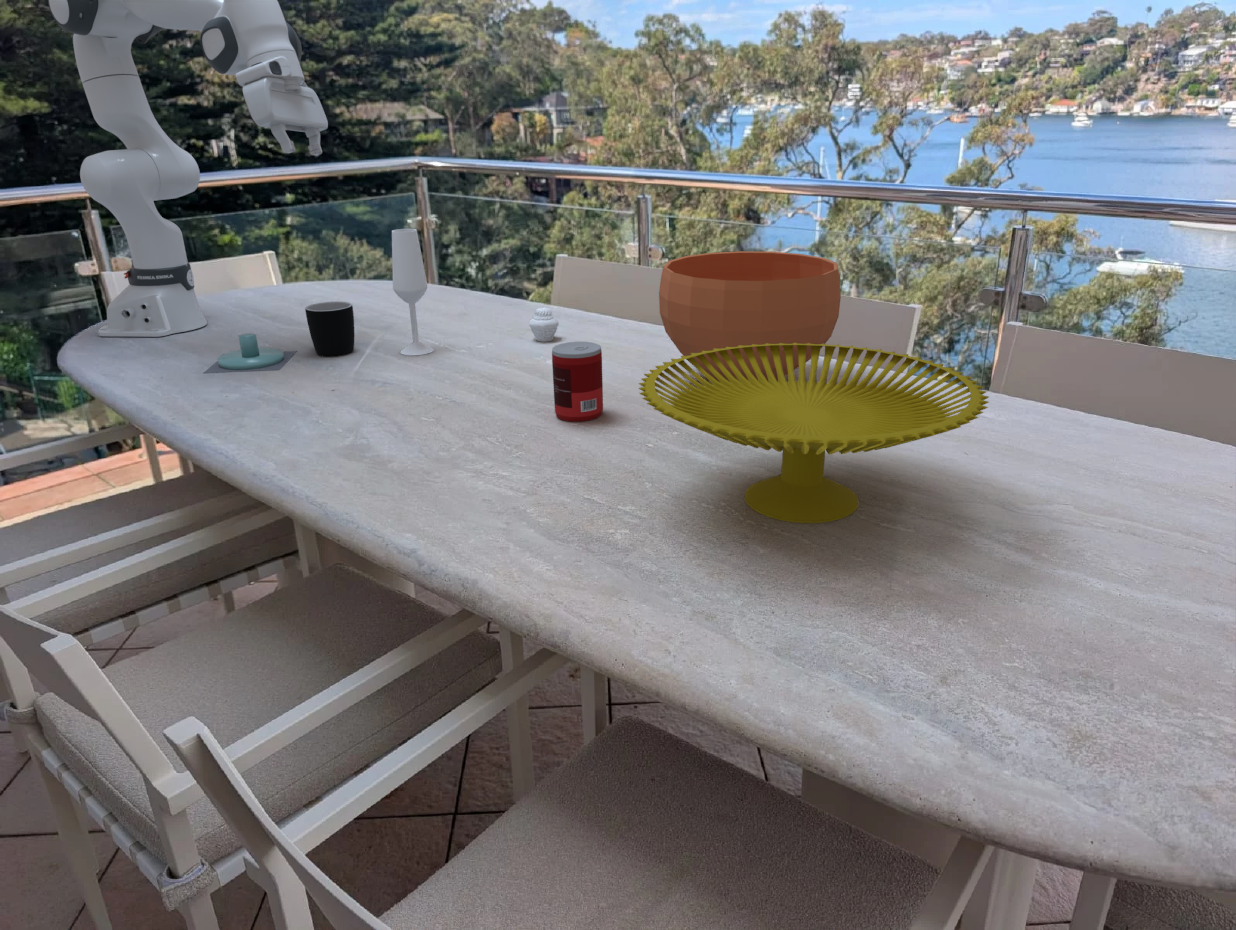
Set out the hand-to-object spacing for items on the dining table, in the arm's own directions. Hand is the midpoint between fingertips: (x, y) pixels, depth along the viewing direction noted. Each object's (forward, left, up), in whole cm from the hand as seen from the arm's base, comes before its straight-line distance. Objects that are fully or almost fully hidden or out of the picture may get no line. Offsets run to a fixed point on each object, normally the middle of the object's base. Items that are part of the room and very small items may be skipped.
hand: (303, 153), depth 167 cm
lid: (-15, -3, -38) cm, 41 cm away
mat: (-15, -3, -39) cm, 42 cm away
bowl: (+77, -29, -39) cm, 91 cm away
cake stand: (+73, -79, -39) cm, 114 cm away
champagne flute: (+16, +3, -39) cm, 42 cm away
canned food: (+47, -42, -39) cm, 74 cm away
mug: (-1, +3, -39) cm, 39 cm away
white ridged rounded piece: (+42, +8, -39) cm, 58 cm away
